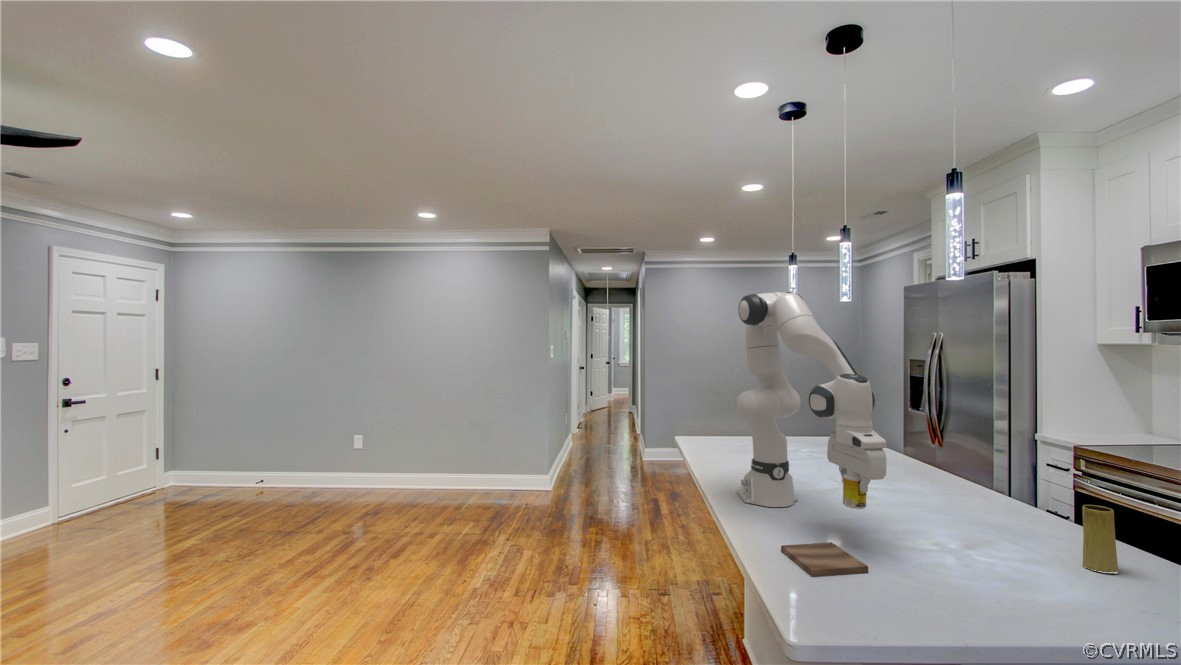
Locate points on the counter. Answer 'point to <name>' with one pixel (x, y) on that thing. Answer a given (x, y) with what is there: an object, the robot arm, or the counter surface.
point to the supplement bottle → (853, 491)
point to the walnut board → (823, 559)
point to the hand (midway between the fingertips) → (854, 487)
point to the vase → (1099, 539)
